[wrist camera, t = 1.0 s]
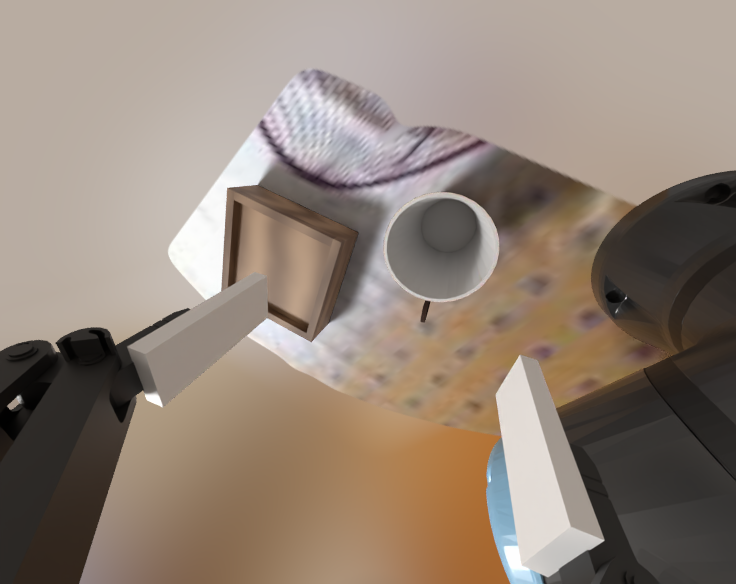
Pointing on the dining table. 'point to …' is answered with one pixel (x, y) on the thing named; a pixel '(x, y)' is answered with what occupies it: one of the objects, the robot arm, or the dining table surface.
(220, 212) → the dining table surface
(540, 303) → the dining table surface
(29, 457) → the robot arm
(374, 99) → the dining table surface
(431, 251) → the coffee mug
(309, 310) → the wooden tray
